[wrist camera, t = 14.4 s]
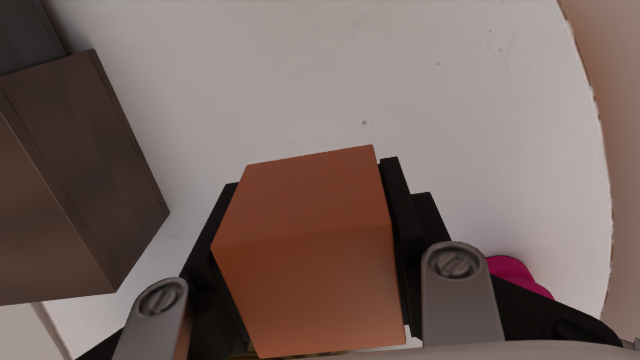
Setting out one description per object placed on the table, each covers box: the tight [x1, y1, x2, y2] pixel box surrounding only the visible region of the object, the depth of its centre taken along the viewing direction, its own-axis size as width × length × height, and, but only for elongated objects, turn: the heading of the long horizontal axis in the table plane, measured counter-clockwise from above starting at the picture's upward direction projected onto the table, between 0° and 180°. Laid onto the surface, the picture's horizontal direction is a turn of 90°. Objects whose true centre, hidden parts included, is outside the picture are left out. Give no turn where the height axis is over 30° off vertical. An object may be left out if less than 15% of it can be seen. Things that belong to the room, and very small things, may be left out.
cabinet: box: [0, 49, 170, 306], centre depth 26 cm, size 15×12×10 cm
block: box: [210, 144, 406, 358], centre depth 10 cm, size 4×4×4 cm
